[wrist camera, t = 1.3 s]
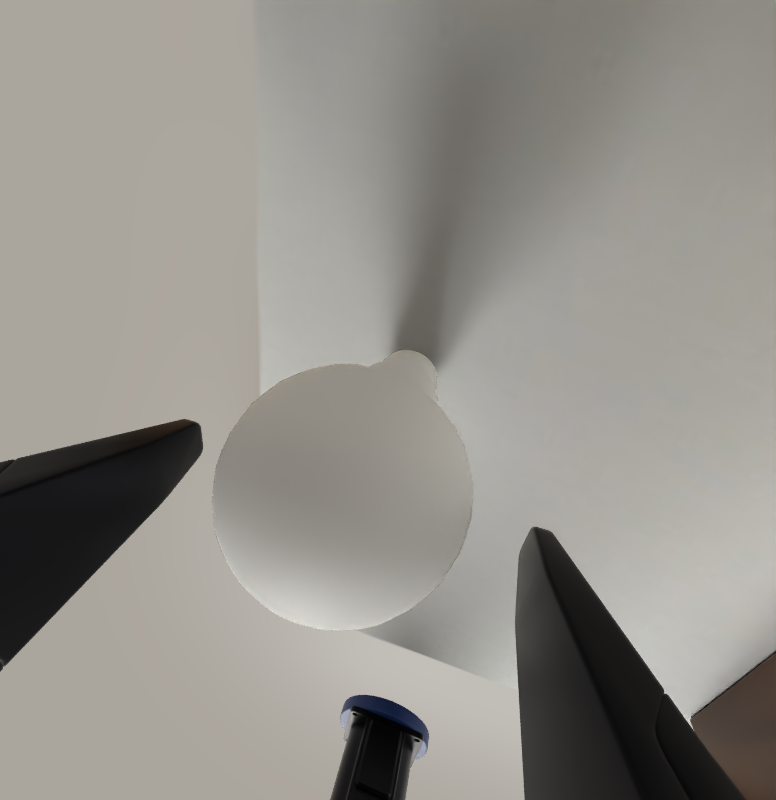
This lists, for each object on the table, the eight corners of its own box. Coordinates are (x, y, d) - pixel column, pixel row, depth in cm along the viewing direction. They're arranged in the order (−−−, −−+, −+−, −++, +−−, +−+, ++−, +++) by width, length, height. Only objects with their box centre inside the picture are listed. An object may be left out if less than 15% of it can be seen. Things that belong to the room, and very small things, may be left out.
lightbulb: (349, 421, 18) (183, 647, 8) (344, 296, 15) (88, 424, 6) (474, 439, 17) (444, 736, 7) (493, 305, 14) (486, 497, 4)
